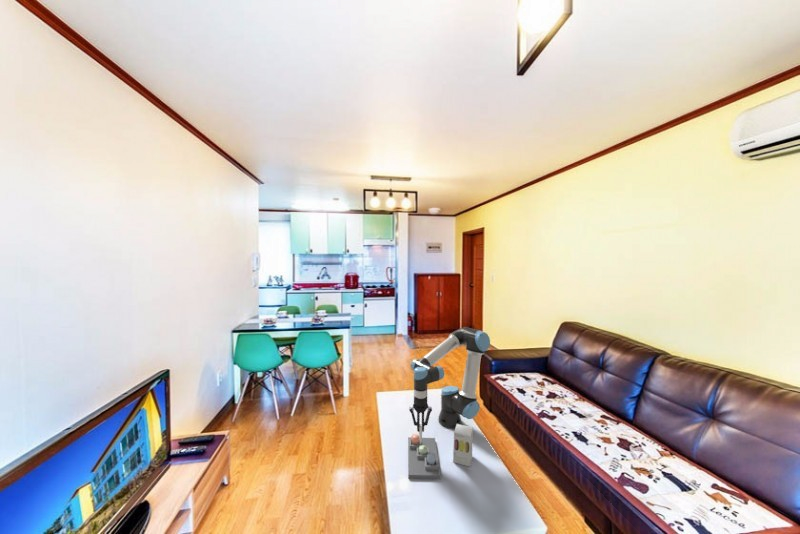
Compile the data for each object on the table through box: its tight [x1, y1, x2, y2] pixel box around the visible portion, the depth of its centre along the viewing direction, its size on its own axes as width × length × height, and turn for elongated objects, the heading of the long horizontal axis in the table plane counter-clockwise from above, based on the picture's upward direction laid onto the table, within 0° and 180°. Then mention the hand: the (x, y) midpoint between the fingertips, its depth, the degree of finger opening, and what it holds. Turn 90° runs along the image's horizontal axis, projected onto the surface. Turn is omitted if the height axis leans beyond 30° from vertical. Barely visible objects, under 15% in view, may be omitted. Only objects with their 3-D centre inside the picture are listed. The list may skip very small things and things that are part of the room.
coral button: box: [411, 433, 419, 445], centre depth 171 cm, size 4×4×4 cm
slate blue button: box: [427, 453, 436, 465], centre depth 154 cm, size 4×4×4 cm
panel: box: [407, 437, 441, 480], centre depth 163 cm, size 16×30×4 cm, turn 179°
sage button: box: [419, 445, 427, 455], centre depth 163 cm, size 4×4×4 cm
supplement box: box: [452, 424, 474, 467], centre depth 162 cm, size 10×9×17 cm
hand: (420, 436), depth 166 cm, fingers closed
